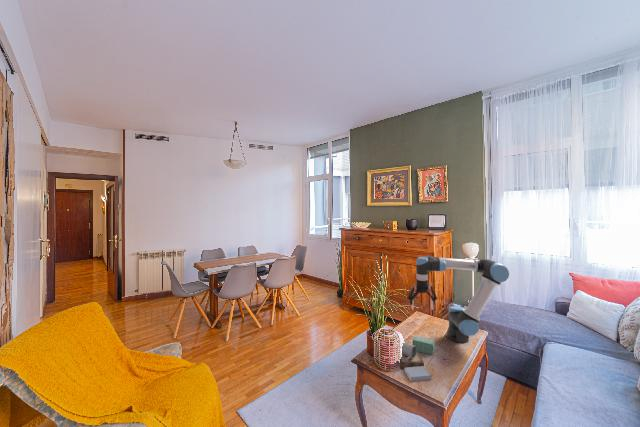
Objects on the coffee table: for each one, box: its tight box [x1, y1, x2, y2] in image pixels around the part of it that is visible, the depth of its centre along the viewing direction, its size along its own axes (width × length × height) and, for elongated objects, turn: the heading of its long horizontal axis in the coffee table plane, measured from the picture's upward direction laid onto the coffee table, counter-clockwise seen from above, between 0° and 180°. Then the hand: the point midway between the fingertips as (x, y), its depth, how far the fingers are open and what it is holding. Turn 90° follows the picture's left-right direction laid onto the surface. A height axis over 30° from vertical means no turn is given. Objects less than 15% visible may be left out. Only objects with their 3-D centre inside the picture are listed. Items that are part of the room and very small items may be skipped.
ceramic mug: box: [401, 342, 418, 360], centre depth 170 cm, size 11×8×8 cm
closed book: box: [403, 365, 432, 382], centre depth 158 cm, size 12×9×2 cm
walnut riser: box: [399, 351, 425, 370], centre depth 171 cm, size 14×14×4 cm
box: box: [411, 335, 435, 356], centre depth 185 cm, size 7×14×8 cm, turn 60°
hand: (422, 309), depth 189 cm, fingers open, 13 cm apart
